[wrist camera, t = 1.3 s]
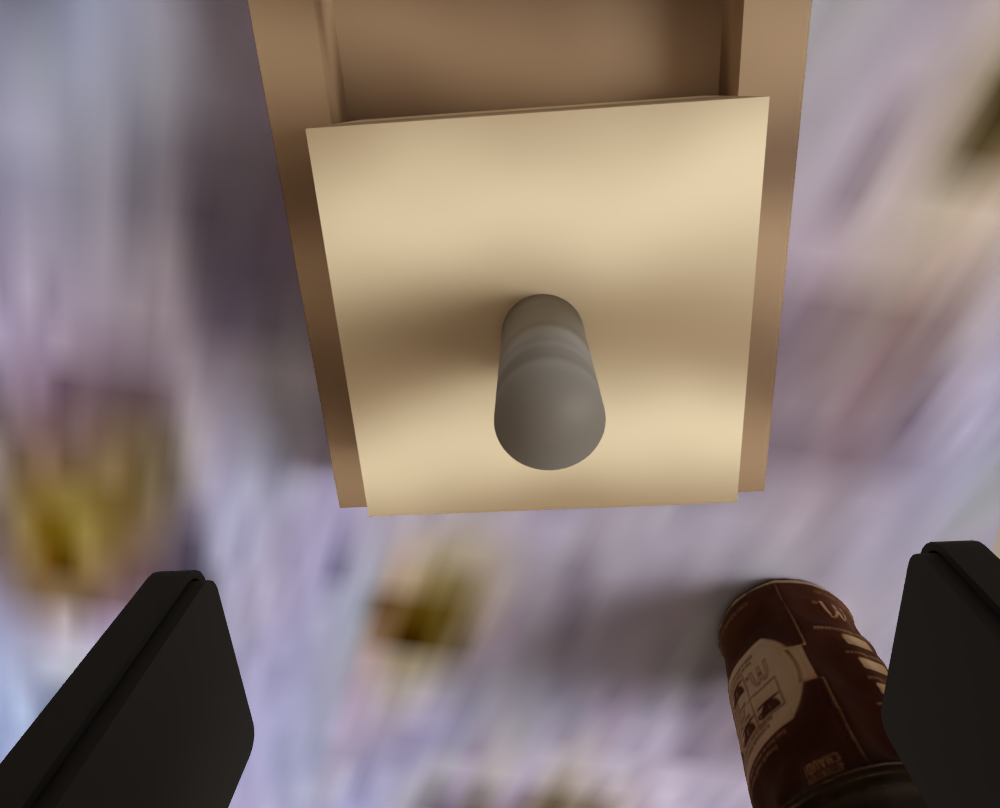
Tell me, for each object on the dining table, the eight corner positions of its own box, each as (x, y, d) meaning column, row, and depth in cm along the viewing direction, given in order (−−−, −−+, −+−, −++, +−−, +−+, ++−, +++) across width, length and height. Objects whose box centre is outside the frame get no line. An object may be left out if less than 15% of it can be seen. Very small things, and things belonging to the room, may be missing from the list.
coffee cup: (686, 696, 37) (764, 985, 25) (689, 565, 33) (781, 825, 22) (858, 689, 36) (1022, 981, 24) (879, 555, 33) (1080, 817, 21)
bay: (232, -284, 21) (184, -346, 18) (804, -342, 21) (852, -417, 18) (357, 468, 32) (339, 507, 29) (740, 452, 31) (764, 490, 28)
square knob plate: (361, 119, 25) (213, 143, 13) (705, 95, 24) (877, 97, 12) (402, 425, 30) (321, 646, 18) (690, 412, 29) (804, 632, 17)
